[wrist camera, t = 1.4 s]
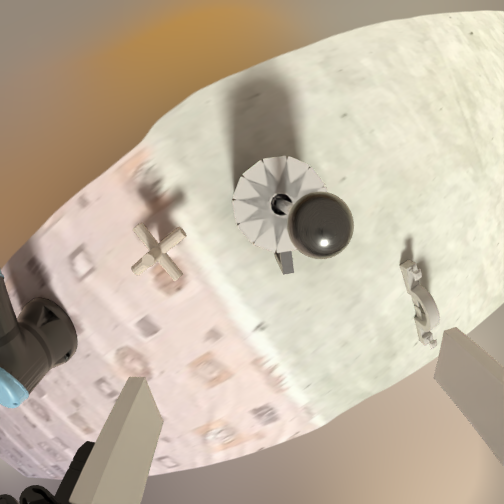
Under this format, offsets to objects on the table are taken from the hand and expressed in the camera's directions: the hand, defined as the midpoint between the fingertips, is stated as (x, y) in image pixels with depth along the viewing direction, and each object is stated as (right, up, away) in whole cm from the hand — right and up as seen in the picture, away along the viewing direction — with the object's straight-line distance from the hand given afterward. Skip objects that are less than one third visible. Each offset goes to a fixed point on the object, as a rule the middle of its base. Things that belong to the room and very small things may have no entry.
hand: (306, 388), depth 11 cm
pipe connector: (-17, +7, +37) cm, 41 cm away
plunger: (+1, +12, +26) cm, 28 cm away
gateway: (+30, -5, +42) cm, 52 cm away
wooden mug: (+1, +12, +36) cm, 38 cm away
